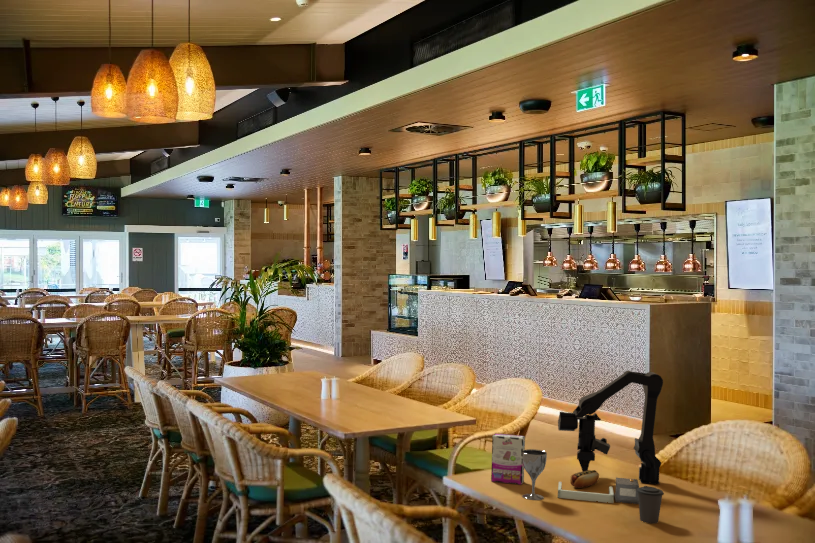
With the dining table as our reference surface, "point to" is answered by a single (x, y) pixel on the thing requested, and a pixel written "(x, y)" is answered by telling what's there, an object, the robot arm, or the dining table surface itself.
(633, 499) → the box
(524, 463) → the wine glass
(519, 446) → the candy bar box
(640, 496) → the coffee cup
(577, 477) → the hot dog
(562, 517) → the dining table surface
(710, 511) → the dining table surface
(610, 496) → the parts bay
